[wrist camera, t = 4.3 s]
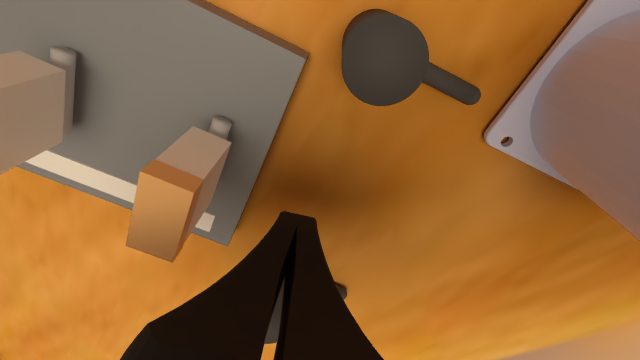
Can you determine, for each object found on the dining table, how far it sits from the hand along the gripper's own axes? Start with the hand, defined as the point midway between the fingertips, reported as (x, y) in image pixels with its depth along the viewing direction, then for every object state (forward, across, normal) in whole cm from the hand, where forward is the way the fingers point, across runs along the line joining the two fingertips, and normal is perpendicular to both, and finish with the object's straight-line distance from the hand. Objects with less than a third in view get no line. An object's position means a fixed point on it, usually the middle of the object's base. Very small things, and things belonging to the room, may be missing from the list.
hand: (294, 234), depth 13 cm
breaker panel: (+5, +11, -2) cm, 12 cm away
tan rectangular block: (+3, +4, -1) cm, 5 cm away
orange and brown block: (+3, +11, -2) cm, 11 cm away
